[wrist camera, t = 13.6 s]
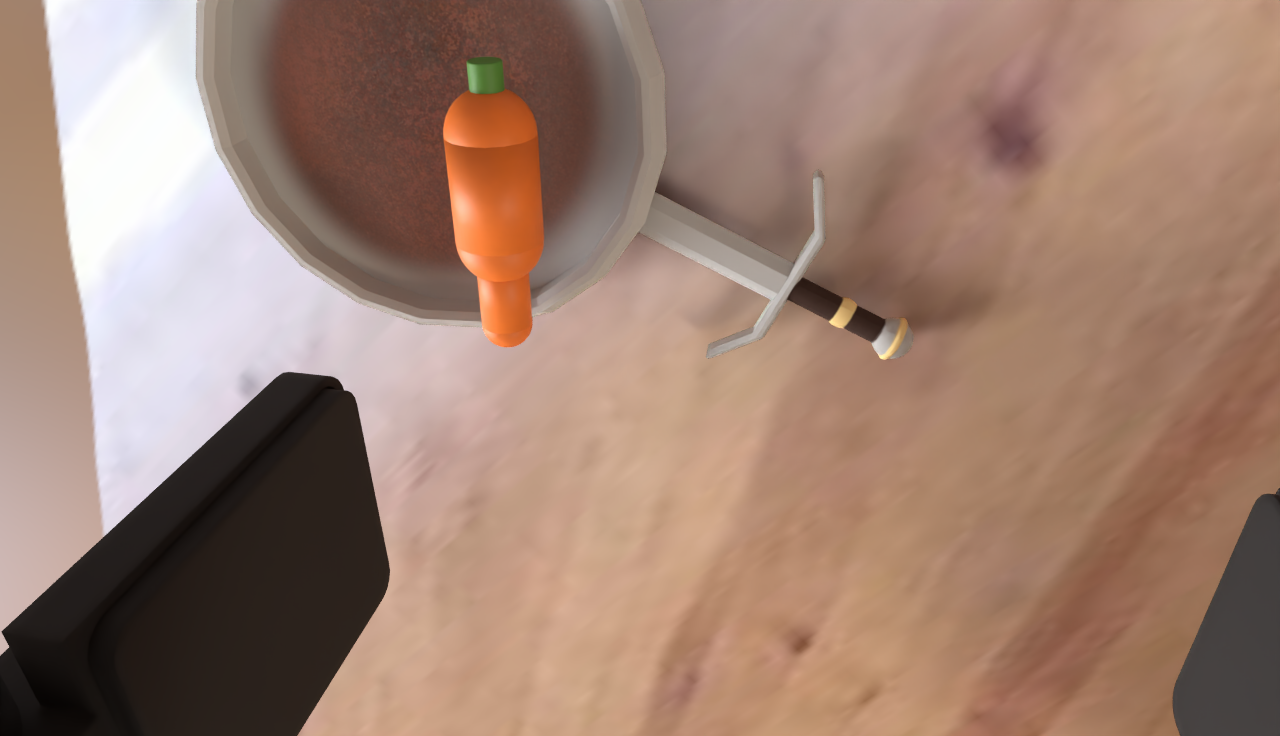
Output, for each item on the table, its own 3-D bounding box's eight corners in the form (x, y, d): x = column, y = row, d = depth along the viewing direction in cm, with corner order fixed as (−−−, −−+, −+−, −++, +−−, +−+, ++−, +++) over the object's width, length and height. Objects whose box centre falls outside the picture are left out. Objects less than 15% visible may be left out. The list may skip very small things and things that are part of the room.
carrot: (527, 48, 29) (433, 52, 28) (538, 67, 26) (436, 72, 26) (544, 321, 34) (465, 329, 33) (555, 359, 32) (469, 369, 31)
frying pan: (794, 522, 36) (146, 215, 34) (794, 478, 39) (191, 189, 36) (1072, 161, 28) (224, -293, 25) (1050, 135, 30) (276, -281, 27)
